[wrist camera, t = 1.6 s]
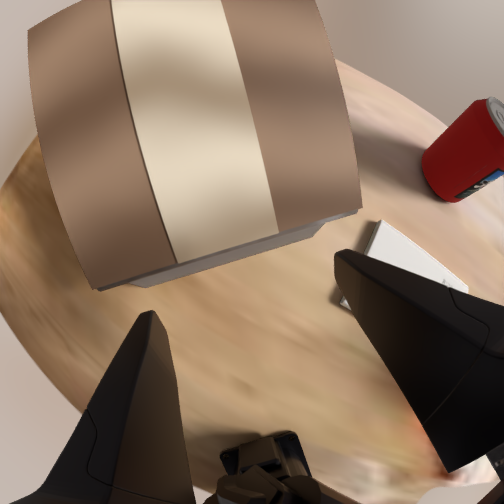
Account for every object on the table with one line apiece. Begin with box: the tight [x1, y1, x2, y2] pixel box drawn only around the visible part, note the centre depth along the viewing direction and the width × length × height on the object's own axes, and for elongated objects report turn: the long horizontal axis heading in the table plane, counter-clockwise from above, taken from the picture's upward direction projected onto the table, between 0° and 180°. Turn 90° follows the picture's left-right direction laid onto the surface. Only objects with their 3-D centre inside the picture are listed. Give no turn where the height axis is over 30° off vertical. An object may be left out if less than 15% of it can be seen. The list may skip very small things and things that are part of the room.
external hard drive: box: [340, 220, 468, 310], centre depth 22 cm, size 2×8×12 cm
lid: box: [28, 0, 363, 291], centre depth 11 cm, size 15×14×1 cm
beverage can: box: [422, 97, 504, 203], centre depth 19 cm, size 7×7×12 cm
